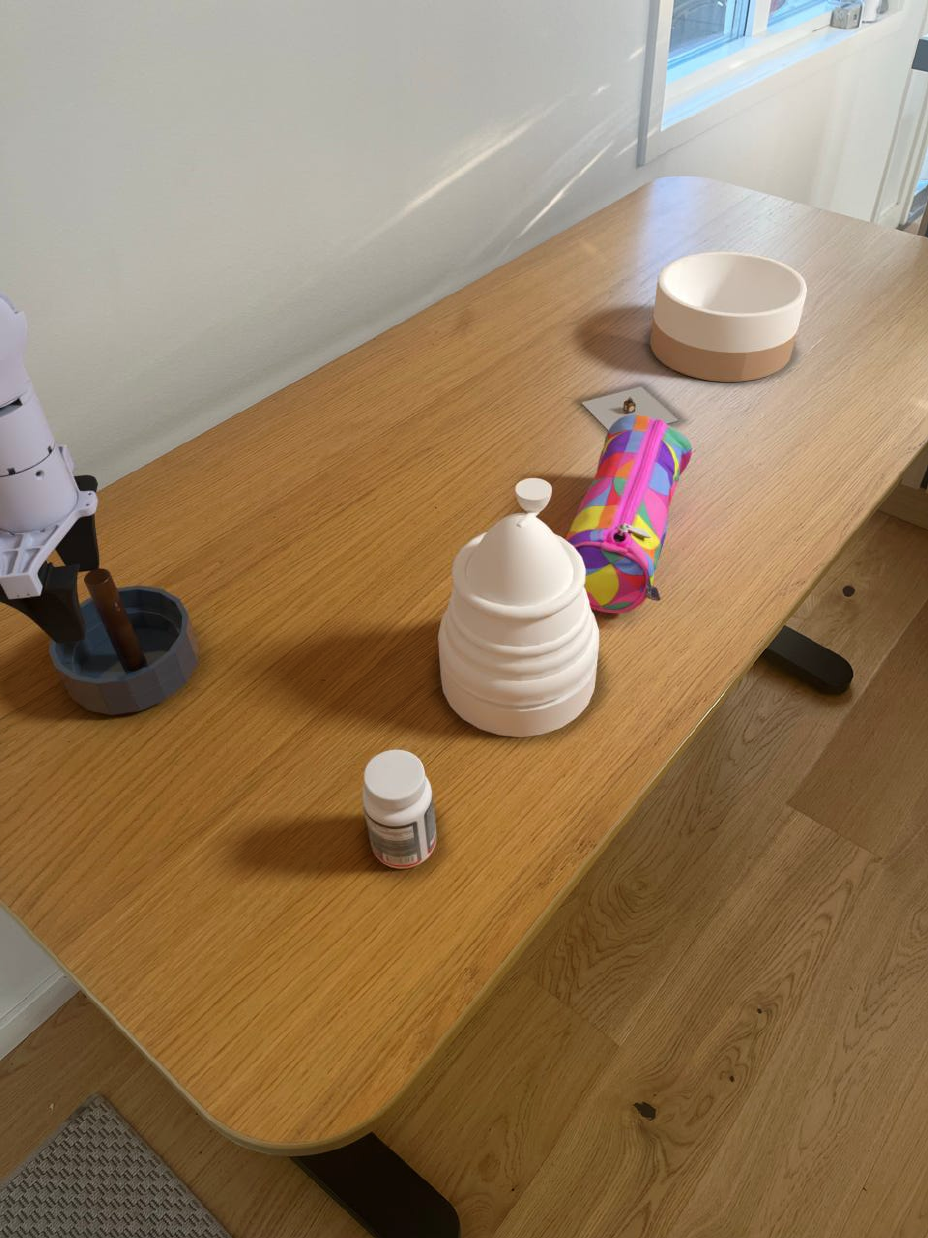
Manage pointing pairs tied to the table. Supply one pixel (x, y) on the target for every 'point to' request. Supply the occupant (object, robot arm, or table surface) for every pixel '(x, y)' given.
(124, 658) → the stirring stick
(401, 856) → the pill bottle
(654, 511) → the pencil case
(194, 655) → the mixing bowl
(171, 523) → the table surface
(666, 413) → the grey flat square sheet
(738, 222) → the table surface
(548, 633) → the honey pot
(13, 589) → the robot arm
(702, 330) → the bowl
